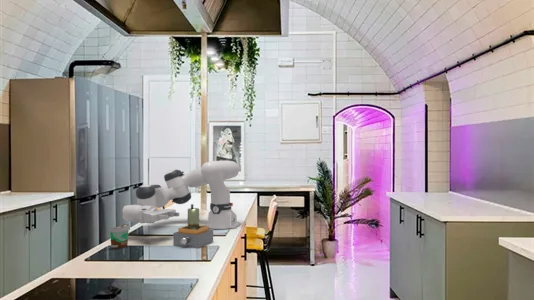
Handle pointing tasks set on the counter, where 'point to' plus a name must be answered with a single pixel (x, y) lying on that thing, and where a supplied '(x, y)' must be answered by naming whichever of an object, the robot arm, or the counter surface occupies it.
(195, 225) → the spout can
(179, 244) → the grey drawer box
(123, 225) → the food container
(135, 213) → the robot arm
